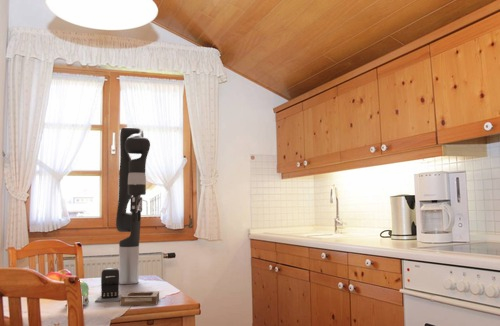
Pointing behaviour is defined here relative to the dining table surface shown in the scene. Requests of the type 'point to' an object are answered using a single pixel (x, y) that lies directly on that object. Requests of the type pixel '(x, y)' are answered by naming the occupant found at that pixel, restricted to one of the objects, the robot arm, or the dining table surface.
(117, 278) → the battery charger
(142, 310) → the dining table surface
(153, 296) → the frame
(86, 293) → the frog
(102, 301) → the mat
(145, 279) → the dining table surface
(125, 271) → the robot arm
